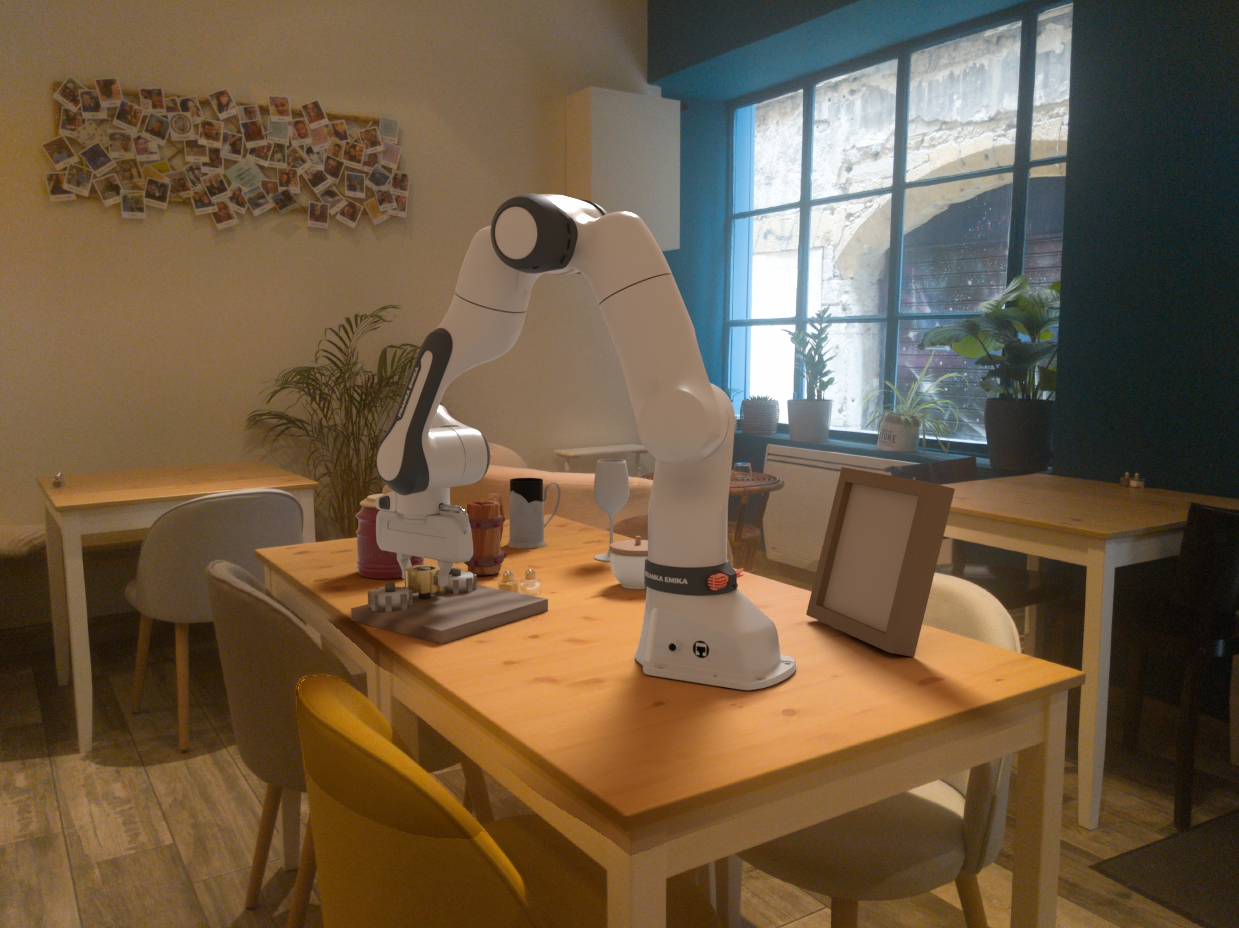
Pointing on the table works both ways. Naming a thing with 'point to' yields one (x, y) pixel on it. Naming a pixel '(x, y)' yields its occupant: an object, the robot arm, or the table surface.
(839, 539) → the photo frame
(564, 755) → the table surface
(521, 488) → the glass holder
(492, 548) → the mug
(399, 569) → the canister
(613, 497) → the wineglass
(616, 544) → the lidded jar
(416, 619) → the gear board
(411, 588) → the brass gear
